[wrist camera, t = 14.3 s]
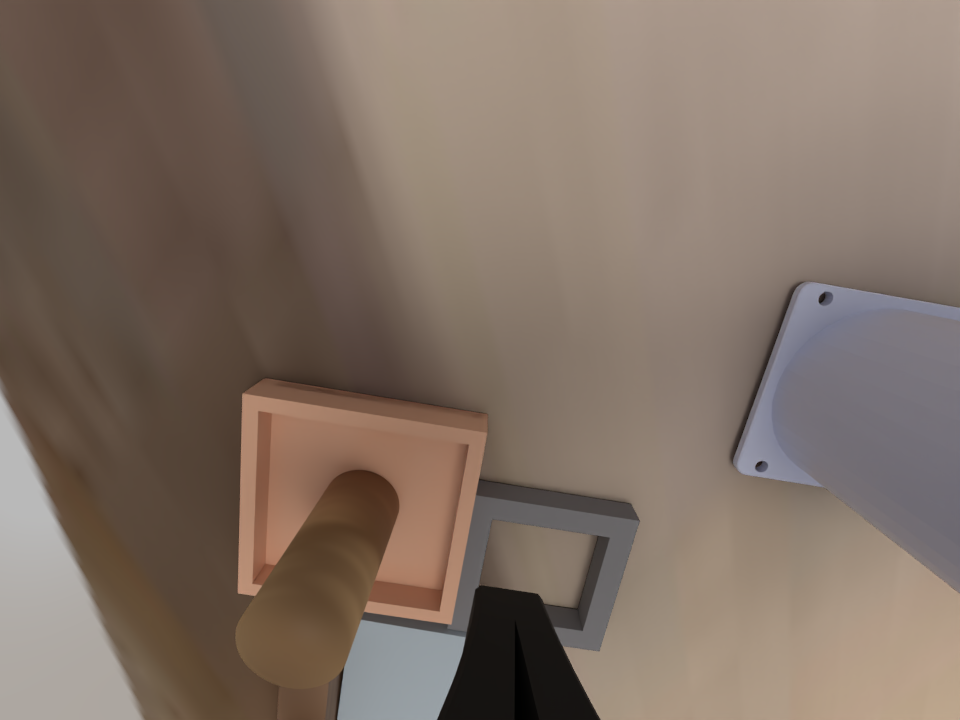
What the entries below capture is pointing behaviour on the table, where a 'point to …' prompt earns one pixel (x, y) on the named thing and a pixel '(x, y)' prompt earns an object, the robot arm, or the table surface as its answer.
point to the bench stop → (310, 701)
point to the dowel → (320, 585)
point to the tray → (372, 447)
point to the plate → (399, 669)
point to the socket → (560, 513)
